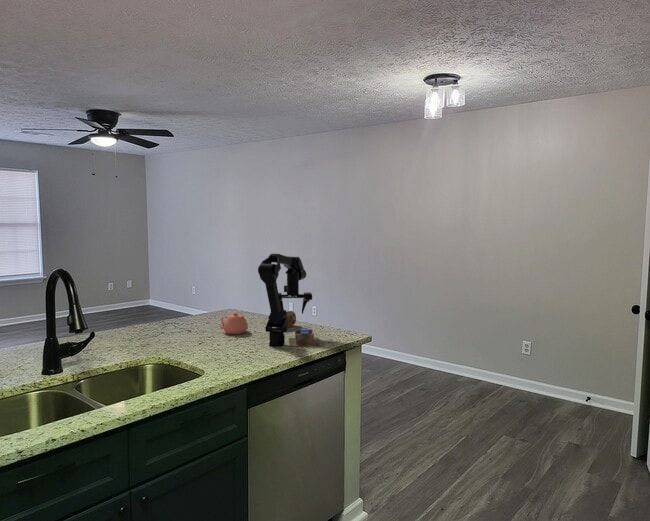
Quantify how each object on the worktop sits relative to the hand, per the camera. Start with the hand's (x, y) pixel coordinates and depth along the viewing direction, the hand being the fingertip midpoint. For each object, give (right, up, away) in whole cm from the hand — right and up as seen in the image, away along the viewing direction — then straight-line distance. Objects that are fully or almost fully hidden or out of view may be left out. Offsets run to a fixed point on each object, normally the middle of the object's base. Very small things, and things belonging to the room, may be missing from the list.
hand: (292, 313), depth 227 cm
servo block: (+6, -12, -11) cm, 17 cm away
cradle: (+6, -12, -11) cm, 18 cm away
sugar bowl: (-30, -11, +7) cm, 33 cm away
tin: (-5, -10, +19) cm, 22 cm away
